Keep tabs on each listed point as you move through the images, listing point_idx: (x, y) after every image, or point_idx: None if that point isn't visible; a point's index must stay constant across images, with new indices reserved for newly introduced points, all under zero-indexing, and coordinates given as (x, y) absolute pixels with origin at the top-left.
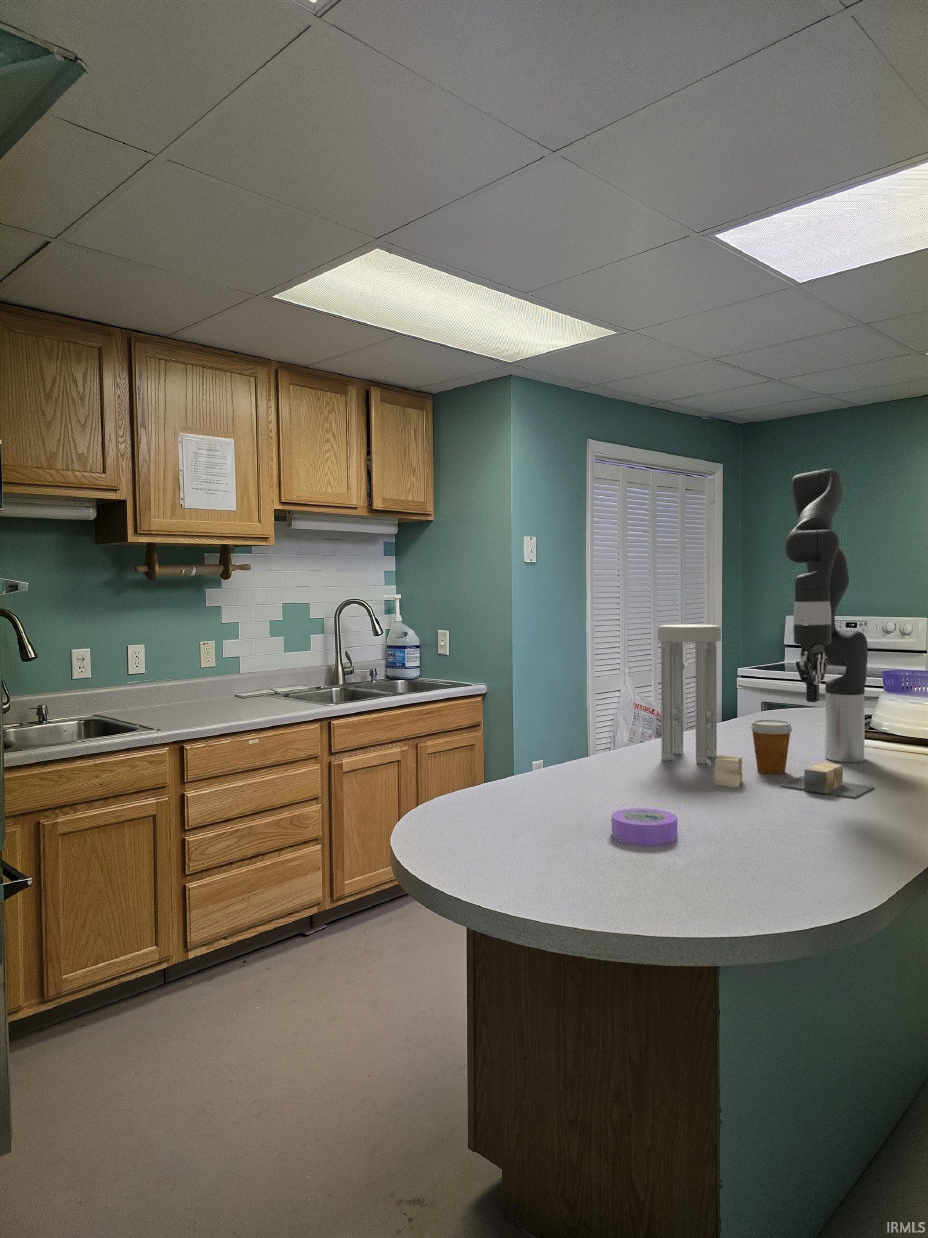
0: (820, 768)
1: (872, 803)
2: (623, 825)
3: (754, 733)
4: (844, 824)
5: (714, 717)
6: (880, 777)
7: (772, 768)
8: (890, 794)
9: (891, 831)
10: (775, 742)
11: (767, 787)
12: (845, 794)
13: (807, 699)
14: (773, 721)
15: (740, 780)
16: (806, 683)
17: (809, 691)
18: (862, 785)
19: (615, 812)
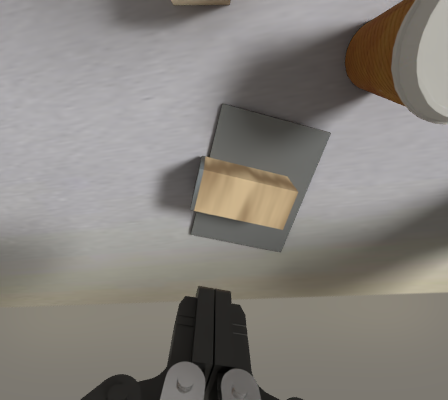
0: (225, 197)
1: (175, 254)
2: None
3: None
4: (20, 234)
5: None
6: (371, 252)
7: (350, 64)
8: (248, 270)
9: (32, 283)
10: (380, 73)
11: (205, 77)
12: (200, 221)
13: (198, 293)
14: None
15: (206, 2)
16: (150, 380)
17: (172, 340)
18: (282, 237)
19: None
